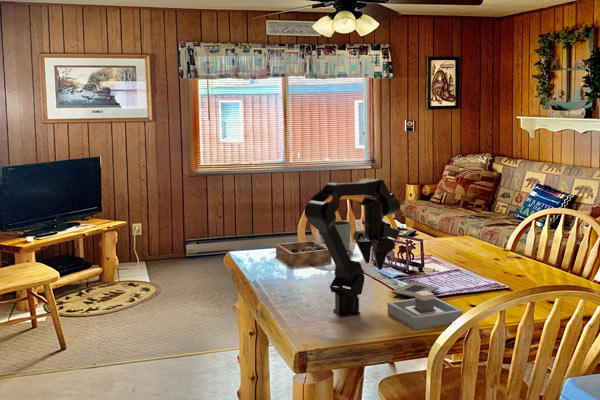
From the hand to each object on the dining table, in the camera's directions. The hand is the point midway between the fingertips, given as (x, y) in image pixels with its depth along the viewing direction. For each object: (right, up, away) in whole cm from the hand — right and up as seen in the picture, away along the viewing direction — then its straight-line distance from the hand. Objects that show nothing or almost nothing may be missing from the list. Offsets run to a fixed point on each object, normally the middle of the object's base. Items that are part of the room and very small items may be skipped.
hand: (373, 266), depth 216 cm
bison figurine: (-21, -4, +59) cm, 63 cm away
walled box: (+14, -14, -14) cm, 24 cm away
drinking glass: (-6, -1, +76) cm, 76 cm away
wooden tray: (-22, -3, +62) cm, 66 cm away
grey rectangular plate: (+15, -11, +10) cm, 21 cm away
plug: (+14, -13, -14) cm, 24 cm away
